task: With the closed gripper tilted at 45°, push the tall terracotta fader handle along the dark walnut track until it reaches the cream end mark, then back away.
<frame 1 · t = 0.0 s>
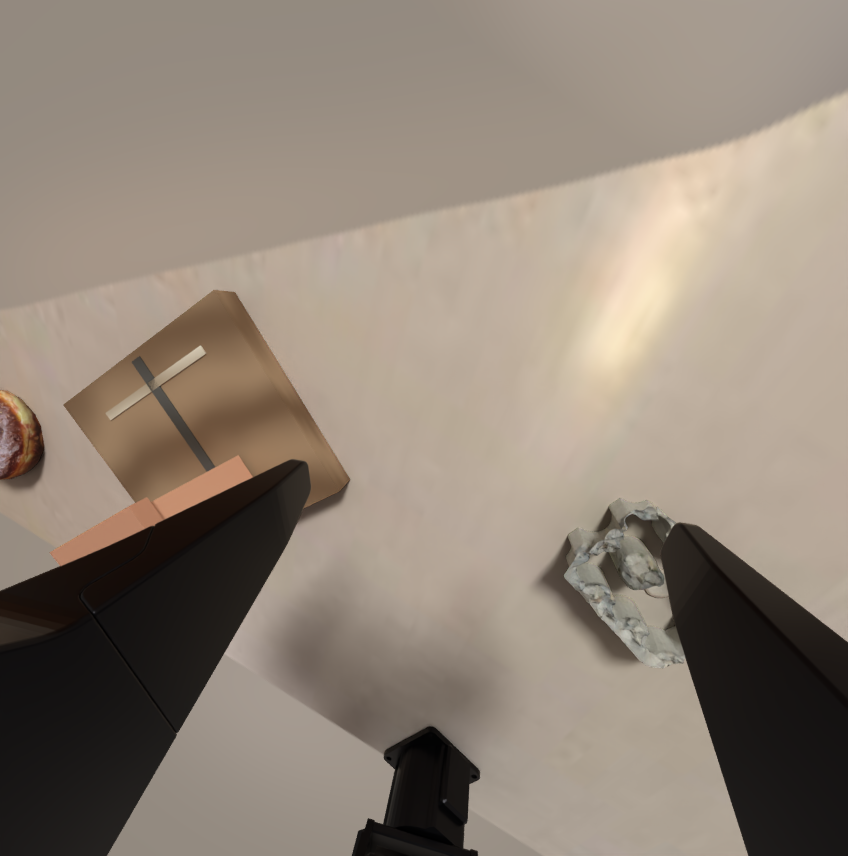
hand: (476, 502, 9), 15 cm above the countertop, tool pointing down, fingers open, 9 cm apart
fader track: (215, 437, 28), on the countertop
pastry: (14, 431, 32), on the countertop
egg carton: (639, 564, 26), on the countertop
fader handle: (174, 518, 23), point 6 cm above the countertop, slide at 0.0 cm
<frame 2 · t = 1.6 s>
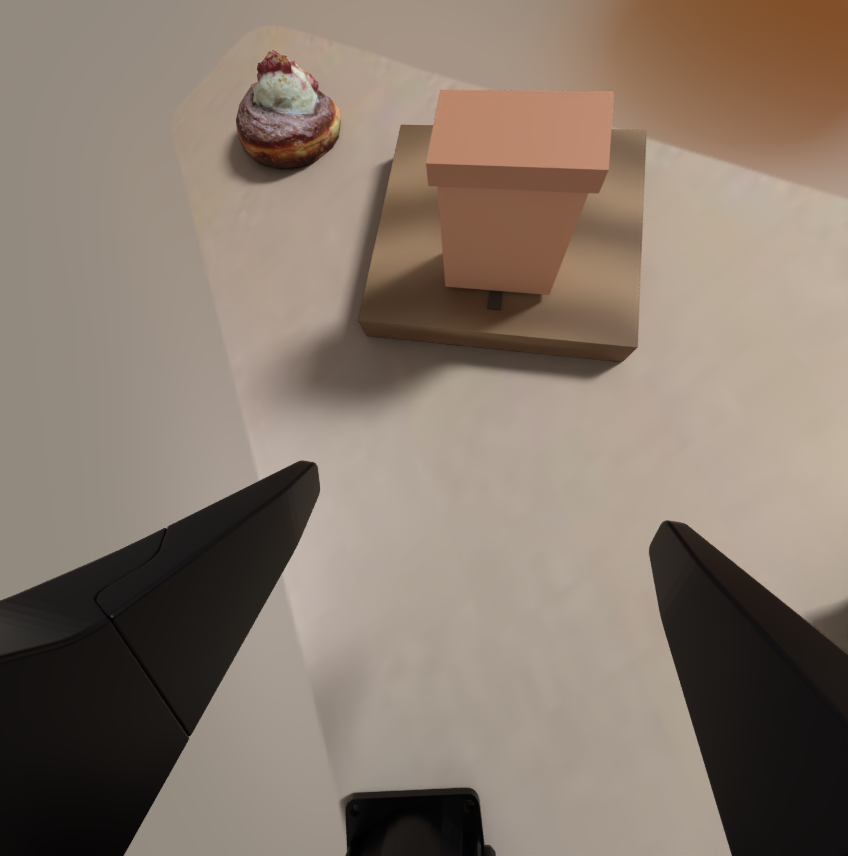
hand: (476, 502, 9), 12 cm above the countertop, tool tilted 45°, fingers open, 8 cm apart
fader track: (502, 245, 25), on the countertop
pastry: (294, 140, 30), on the countertop
fader handle: (507, 213, 18), point 7 cm above the countertop, slide at 0.0 cm
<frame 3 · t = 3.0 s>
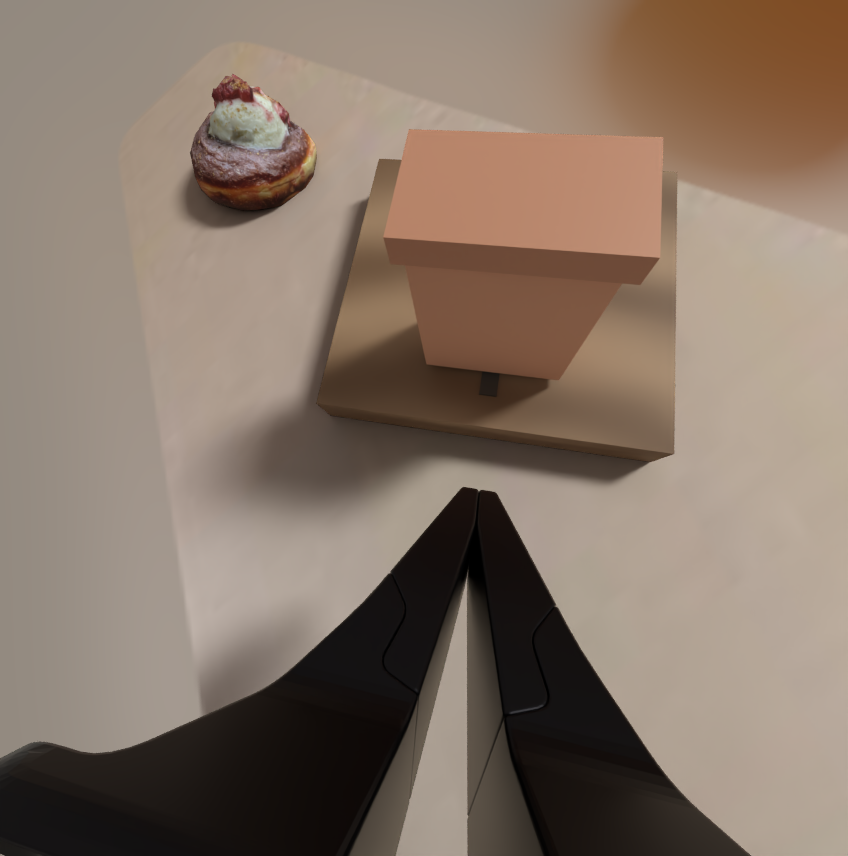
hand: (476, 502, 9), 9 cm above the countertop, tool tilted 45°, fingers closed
fader track: (499, 306, 20), on the countertop
pastry: (262, 176, 25), on the countertop
fader handle: (504, 287, 13), point 6 cm above the countertop, slide at 0.0 cm
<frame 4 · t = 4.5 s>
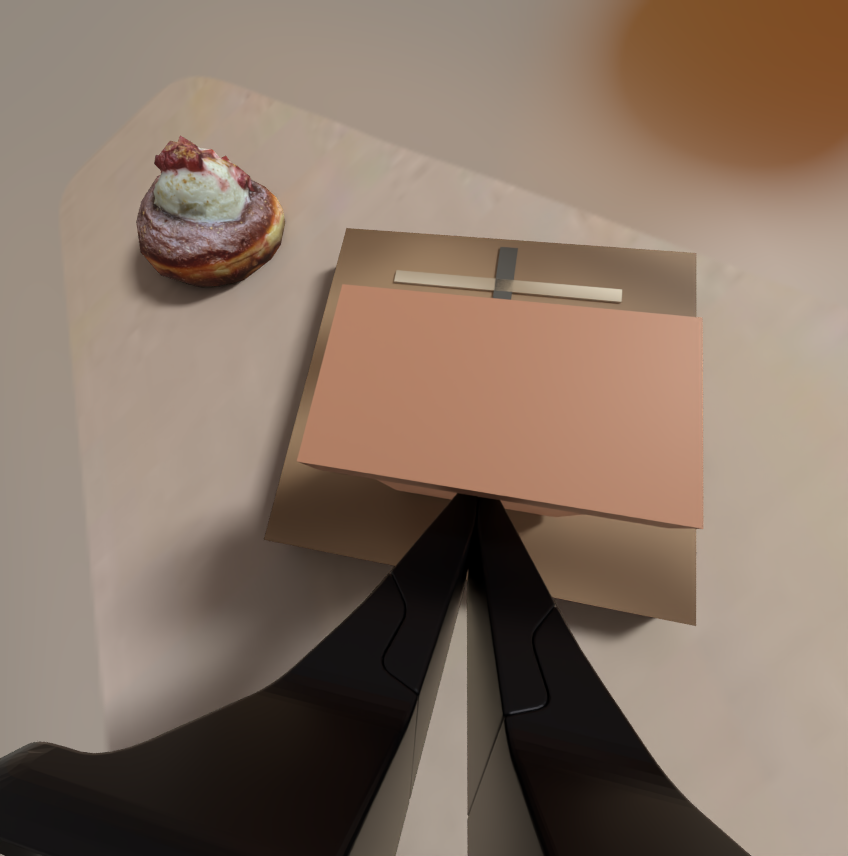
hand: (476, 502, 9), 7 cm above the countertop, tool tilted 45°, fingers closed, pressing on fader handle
fader track: (486, 405, 17), on the countertop
pastry: (224, 242, 22), on the countertop
fader handle: (484, 441, 10), point 6 cm above the countertop, slide at 0.3 cm, touching gripper
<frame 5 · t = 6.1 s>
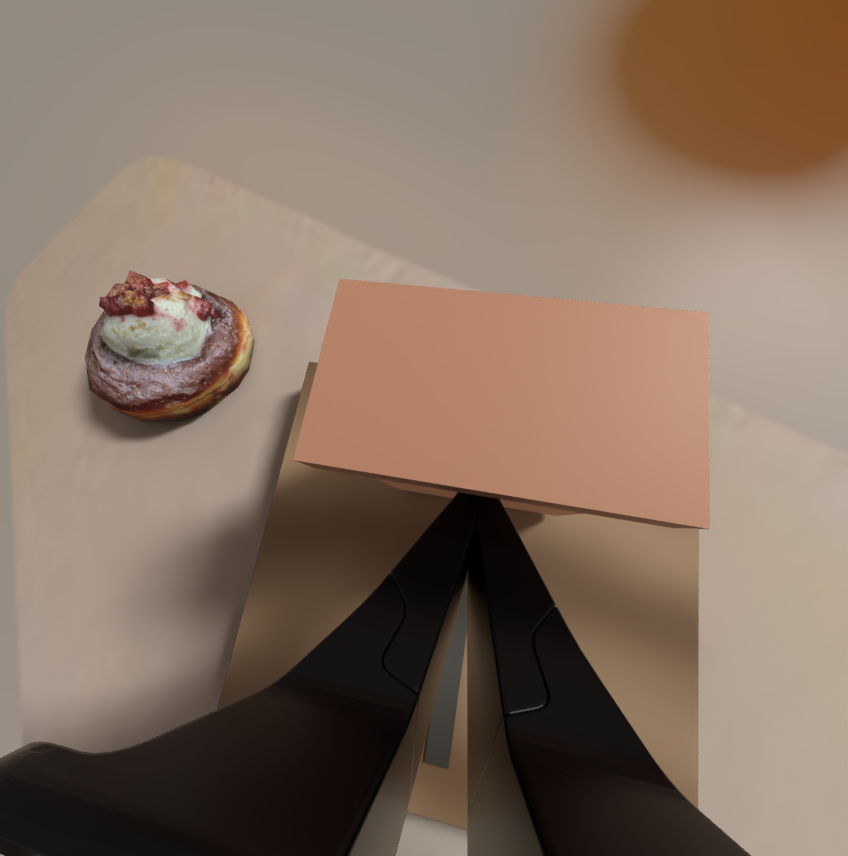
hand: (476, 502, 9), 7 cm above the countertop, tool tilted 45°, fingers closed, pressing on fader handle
fader track: (463, 568, 16), on the countertop
pastry: (188, 361, 20), on the countertop
fader handle: (485, 439, 10), point 7 cm above the countertop, slide at 7.6 cm, touching gripper
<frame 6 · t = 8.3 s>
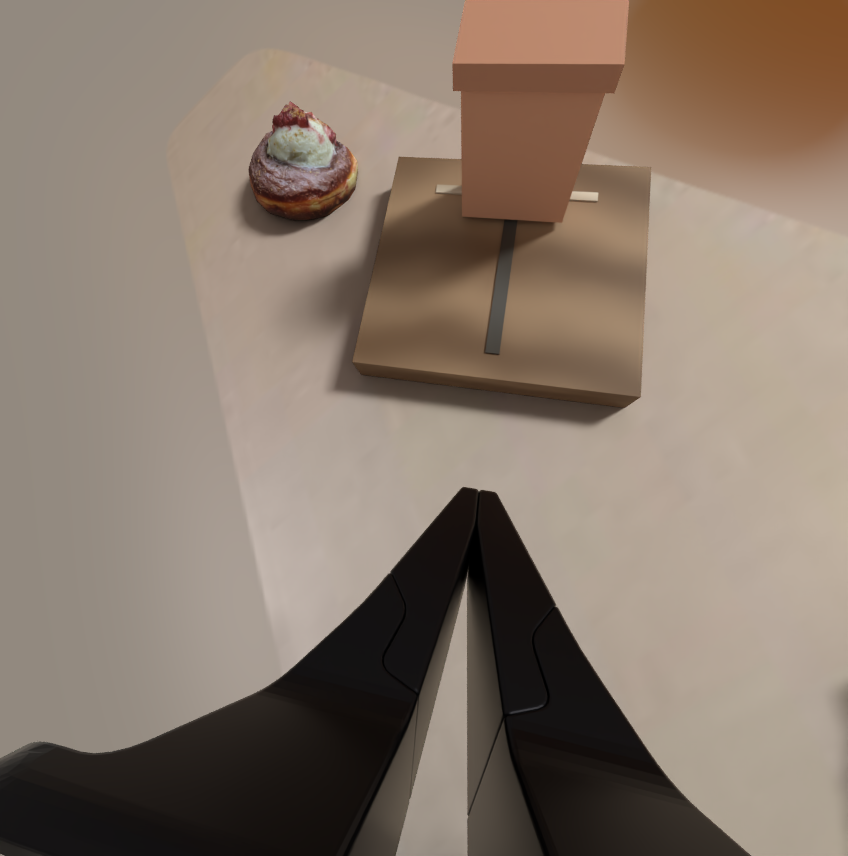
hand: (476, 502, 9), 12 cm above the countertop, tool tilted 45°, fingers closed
fader track: (501, 282, 24), on the countertop
pastry: (309, 188, 28), on the countertop
fader handle: (524, 132, 19), point 6 cm above the countertop, slide at 7.7 cm
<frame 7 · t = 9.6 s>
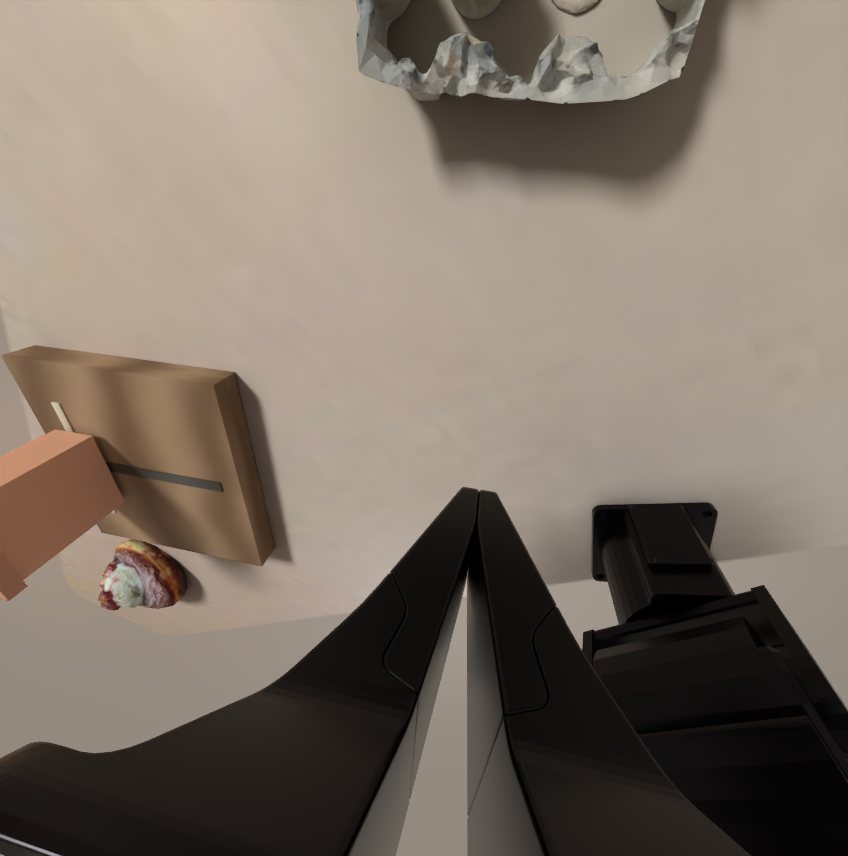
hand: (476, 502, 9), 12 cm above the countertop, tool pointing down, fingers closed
fader track: (168, 457, 29), on the countertop
pastry: (159, 564, 38), on the countertop
fader handle: (30, 505, 24), point 6 cm above the countertop, slide at 7.7 cm
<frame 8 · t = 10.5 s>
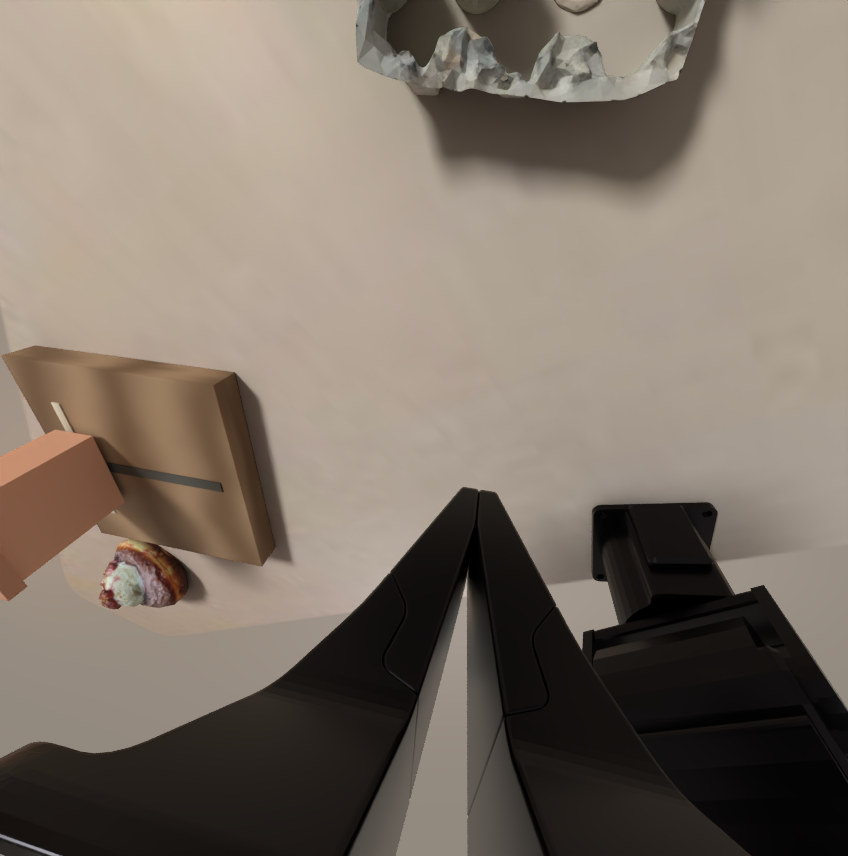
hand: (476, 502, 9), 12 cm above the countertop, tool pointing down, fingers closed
fader track: (168, 457, 29), on the countertop
pastry: (160, 563, 37), on the countertop
fader handle: (30, 505, 24), point 6 cm above the countertop, slide at 7.7 cm
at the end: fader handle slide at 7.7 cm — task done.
